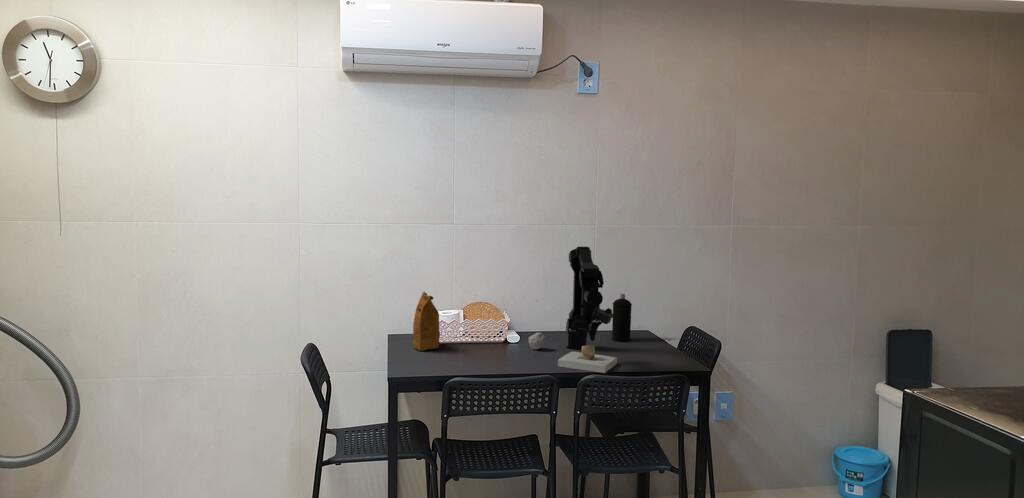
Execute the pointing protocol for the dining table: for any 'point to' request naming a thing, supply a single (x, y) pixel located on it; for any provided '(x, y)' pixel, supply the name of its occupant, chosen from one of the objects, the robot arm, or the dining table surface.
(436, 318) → the coffee package
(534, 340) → the grey rock
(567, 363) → the hub plate
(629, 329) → the aerosol can
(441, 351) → the dining table surface
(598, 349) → the dining table surface
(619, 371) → the dining table surface
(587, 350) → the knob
